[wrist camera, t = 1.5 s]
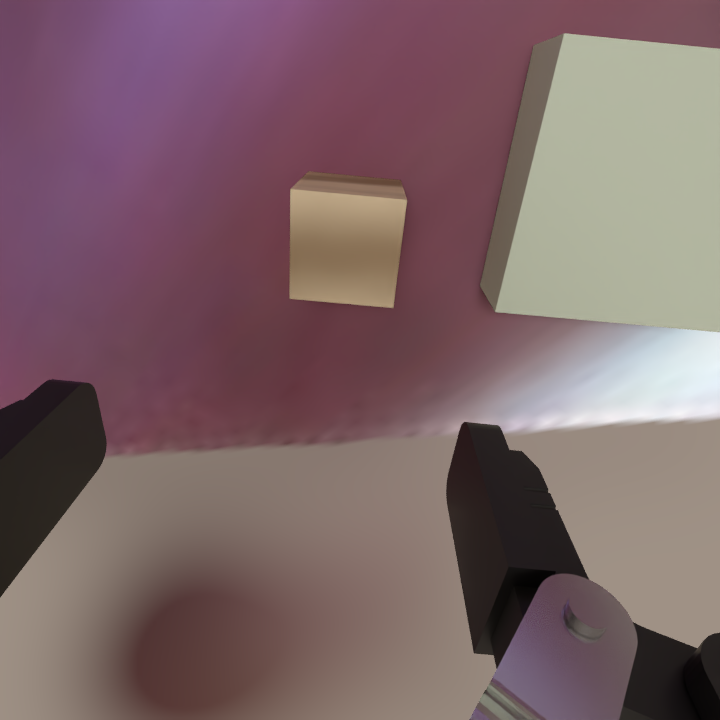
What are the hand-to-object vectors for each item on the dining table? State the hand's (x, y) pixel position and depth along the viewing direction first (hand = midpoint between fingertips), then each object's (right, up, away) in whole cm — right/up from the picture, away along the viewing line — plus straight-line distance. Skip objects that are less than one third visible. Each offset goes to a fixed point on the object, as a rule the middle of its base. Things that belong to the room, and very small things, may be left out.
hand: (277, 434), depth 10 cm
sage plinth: (+16, +11, +14) cm, 24 cm away
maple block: (+1, +9, +16) cm, 18 cm away
